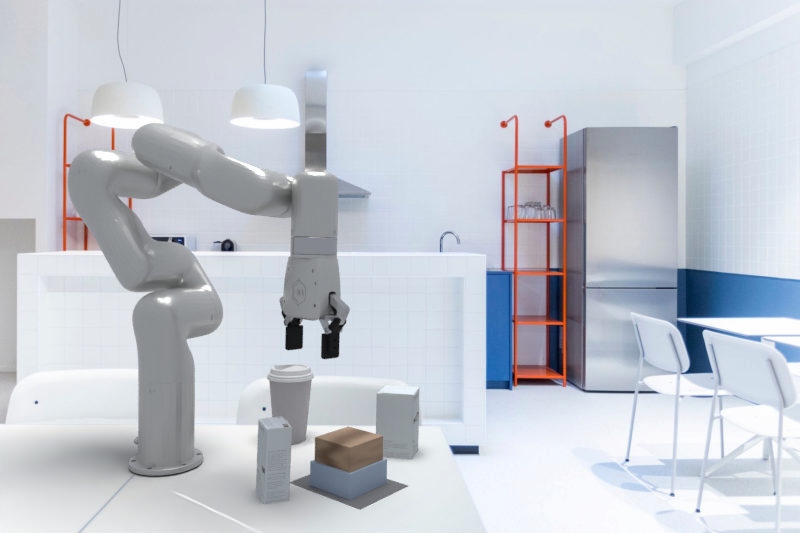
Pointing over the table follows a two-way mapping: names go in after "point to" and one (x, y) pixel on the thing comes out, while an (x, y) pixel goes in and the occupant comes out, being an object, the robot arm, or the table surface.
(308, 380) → the coffee cup
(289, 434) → the skincare box
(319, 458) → the tower top
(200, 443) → the table surface
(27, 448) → the table surface
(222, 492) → the table surface
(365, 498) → the mat
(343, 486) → the tower base
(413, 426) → the supplement box
